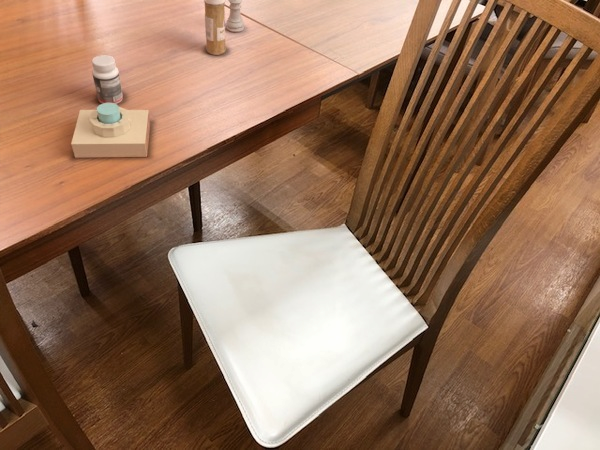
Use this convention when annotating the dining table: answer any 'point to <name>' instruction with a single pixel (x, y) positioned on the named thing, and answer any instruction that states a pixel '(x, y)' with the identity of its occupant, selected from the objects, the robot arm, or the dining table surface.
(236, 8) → the rook chess piece
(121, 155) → the button base
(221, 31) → the sprinkles bottle
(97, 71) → the pill bottle
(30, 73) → the dining table surface
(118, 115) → the teal button cap
